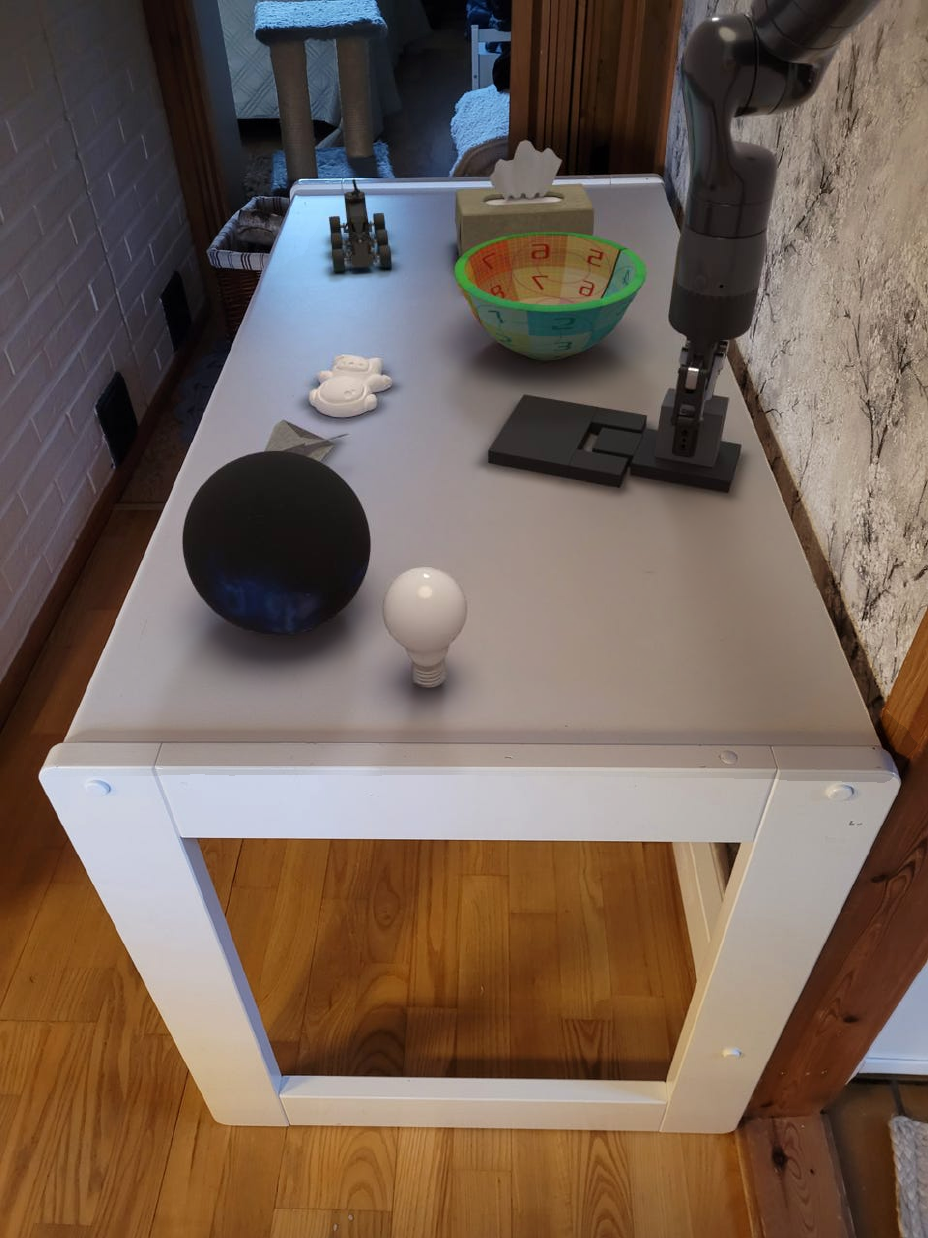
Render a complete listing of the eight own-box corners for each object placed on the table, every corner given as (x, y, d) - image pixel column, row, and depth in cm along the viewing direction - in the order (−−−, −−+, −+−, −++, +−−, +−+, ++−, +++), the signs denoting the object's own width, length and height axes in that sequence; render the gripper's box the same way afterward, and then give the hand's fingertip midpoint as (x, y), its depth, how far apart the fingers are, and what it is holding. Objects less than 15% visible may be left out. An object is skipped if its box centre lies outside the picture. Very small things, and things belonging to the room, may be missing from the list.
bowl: (492, 407, 107) (492, 323, 101) (433, 322, 123) (429, 245, 116) (670, 371, 112) (681, 290, 106) (591, 295, 128) (597, 219, 121)
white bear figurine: (403, 371, 114) (401, 347, 112) (366, 422, 106) (363, 398, 103) (336, 361, 116) (333, 338, 114) (294, 411, 108) (290, 387, 106)
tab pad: (739, 456, 99) (752, 391, 94) (728, 493, 94) (742, 427, 89) (604, 432, 103) (610, 369, 98) (587, 467, 98) (592, 402, 93)
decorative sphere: (381, 554, 89) (366, 412, 78) (373, 670, 78) (355, 523, 67) (219, 558, 89) (183, 417, 78) (188, 675, 78) (142, 529, 67)
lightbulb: (448, 643, 80) (444, 540, 72) (482, 693, 75) (481, 589, 68) (378, 668, 78) (366, 564, 70) (408, 721, 74) (398, 617, 66)
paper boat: (271, 428, 103) (351, 403, 102) (289, 486, 104) (369, 462, 103) (234, 428, 91) (323, 400, 90) (255, 493, 92) (344, 467, 91)
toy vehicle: (384, 231, 146) (380, 171, 140) (392, 271, 135) (387, 208, 129) (331, 235, 145) (324, 175, 139) (334, 276, 134) (327, 212, 128)
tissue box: (460, 272, 134) (457, 153, 123) (455, 245, 141) (451, 130, 130) (592, 265, 135) (601, 146, 124) (580, 238, 142) (587, 123, 131)
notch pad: (645, 426, 104) (647, 414, 103) (619, 487, 96) (620, 475, 95) (523, 405, 107) (523, 393, 106) (488, 462, 99) (487, 450, 98)
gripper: (748, 314, 78) (716, 478, 90) (770, 248, 88) (740, 403, 99) (657, 302, 81) (638, 463, 92) (689, 239, 90) (668, 392, 101)
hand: (691, 432), depth 95 cm, fingers open, 8 cm apart
